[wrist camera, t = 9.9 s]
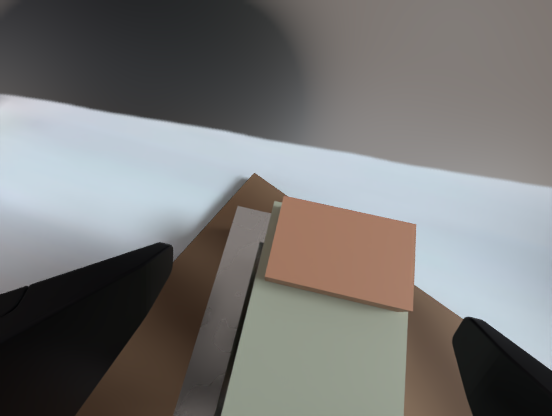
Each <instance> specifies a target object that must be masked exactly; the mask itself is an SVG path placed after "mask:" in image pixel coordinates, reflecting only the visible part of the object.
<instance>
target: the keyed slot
mask: <svg viewBox="0 0 552 416" xmlns="http://www.w3.org/2000/svg"><path fill="white" fill-rule="evenodd" d="M270 217H271V213H267V212H262V211H258V210H254V209H249V208H245V207H240V206H238V207H237V210H236V213H235V216H234V219H233V223H232V226H231V229H230V232H229V236H228V239H227V242H226V245H225V249H224V252H223V255H222V258H221V262H220V265H219V268H218V271H217V275H216V278H215V281H214V284H213V288H212V291H211V294H210V297H209V301H208V304H207V307H206V310H205V314H204V317H203V320H202V323H201V327H200V330H199V333H198V336H197V340H196V343H195V346H194V349H193V353H192V356H191V359H190V362H189V366H188V369H187V372H186V375H185V379H184V382H183V385H182V388H181V391H180V395H179V398H178V401H177V404H176V408H175V411H174V414H173V416H221V414H222V410H223V406H224V402H225V398H226V394H227V390H228V386H229V382H230V378H231V374H232V369H233V365H234V361H235V357H236V353H237V349H238V345H239V341H240V337H241V333H242V329H243V325H244V321H245V317H246V313H247V309H248V305H249V301H250V297H251V293H252V289H253V285H254V281H255V277H256V273H257V269H258V265H259V261H260V257H261V253H262V249H263V245H264V241H265V237H266V233H267V229H268V225H269V221H270Z"/></svg>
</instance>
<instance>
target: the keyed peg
mask: <svg viewBox="0 0 552 416" xmlns="http://www.w3.org/2000/svg"><path fill="white" fill-rule="evenodd" d="M415 244H416V224H412V223H407V222H403V221H398V220H393V219H389V218H384V217H379V216H375V215H370V214H366V213H361V212H356V211H352V210H347V209H343V208H338V207H333V206H329V205H324V204H320V203H315V202H310V201H306V200H301V199H297V198H292V197H287V196H284V197H283V201H282V202H277V201H274V205H273V209H272V213H271V217H270V221H269V225H268V229H267V233H266V237H265V241H264V245H263V249H262V253H261V257H260V261H259V265H258V269H257V273H256V277H255V281H254V285H253V289H252V293H251V297H250V301H249V305H248V309H247V313H246V317H245V321H244V325H243V329H242V333H241V337H240V341H239V345H238V349H237V353H236V357H235V361H234V365H233V369H232V374H231V378H230V382H229V386H228V390H227V394H226V398H225V402H224V406H223V410H222V414H221V416H404V396H405V373H406V350H407V328H408V312H411V311H413V297H414V271H415Z"/></svg>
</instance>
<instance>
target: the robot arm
mask: <svg viewBox="0 0 552 416" xmlns="http://www.w3.org/2000/svg"><path fill="white" fill-rule="evenodd" d="M172 268H173V247H172V245H170V244H165V243H161V242H159V243H156V244H152V245H149V246H146V247H143V248H140V249H137V250H134V251H131V252H128V253H125V254H122V255H119V256H116V257H113V258H110V259H107V260H104V261H101V262H98V263H95V264H92V265H89V266H86V267H83V268H80V269H77V270H73V271H70V272H67V273H64V274H61V275H58V276H55V277H52V278H49V279H46V280H43V281H40V282H37V283H34V284H31V285H30V286H29V287H28V286H25V287H22V288H19V289H16V290H13V291H10V292H7V293H3V294H0V416H75V415H76V414H77V412H78V411H79V410H80V408H81V407H82V405H83V404H84V403H85V401H86V400H87V399H88V397H89V396H90V394H91V393H92V392H93V390H94V389H95V387H96V386H97V385H98V383H99V382H100V380H101V379H102V378H103V376H104V375H105V373H106V372H107V371H108V369H109V368H110V366H111V365H112V364H113V362H114V361H115V360H116V358H117V357H118V355H119V354H120V353H121V351H122V350H123V348H124V347H125V346H126V344H127V343H128V341H129V340H130V339H131V337H132V336H133V334H134V333H135V332H136V330H137V329H138V328H139V326H140V325H141V323H142V322H143V320H144V319H145V317H146V316H147V314H148V313H149V311H150V309H151V308H152V306H153V304H154V302H155V301H156V299H157V297H158V295H159V294H160V292H161V290H162V288H163V286H164V285H165V283H166V281H167V279H168V278H169V276H170V274H171V272H172ZM452 345H453V349H454V353H455V357H456V361H457V364H458V368H459V372H460V376H461V380H462V383H463V387H464V391H465V394H466V398H467V401H468V404H469V407H470V409H471V412H472V415H473V416H552V371H551V370H550V369H549V368H547V367H546V366H545V365H543V364H542V363H541V362H539V361H538V360H536V359H535V358H534V357H532V356H531V355H530V354H528V353H527V352H526V351H524V350H523V349H521V348H520V347H519V346H517V345H516V344H515V343H513V342H512V341H511V340H509V339H508V338H506V337H505V336H504V335H502V334H501V333H500V332H498V331H497V330H496V329H494V328H493V327H491V326H490V325H489V324H487V323H486V322H485V321H483V320H481V319H477V318H472V317H465V318H464V319H463V320H462V322H461V323H460V325H459V327H458V328H457V330H456V332H455V333H454V335H453V338H452Z"/></svg>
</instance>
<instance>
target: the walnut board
mask: <svg viewBox="0 0 552 416" xmlns="http://www.w3.org/2000/svg"><path fill="white" fill-rule="evenodd" d="M284 196H287V195H285V194H284V193H282V192H281V191H280V190H278V189H277V188H275V187H274V186H272V185H271V184H270V183H268V182H267V181H265V180H264V179H262V178H261V177H260V176H258V175H257V174H255V173H254V174H253V175H252V176H251V177H250V178H249V179H248V180H247V181H246V183H245V184H244V185H243V186H242V187H241V188H240V189H239V190H238V191H237V192H236V194H235V195H234V196H233V197H232V198H231V199H230V200H229V201H228V202H227V203H226V205H225V206H224V207H223V208H222V209H221V210H220V211H219V212H218V213H217V215H216V216H215V217H214V218H213V219H212V220H211V221H210V222H209V223H208V224H207V226H206V227H205V228H204V229H203V230H202V231H201V232H200V233H199V234H198V235H197V237H196V238H195V239H194V240H193V241H192V242H191V243H190V244H189V245H188V246H187V248H186V249H185V250H184V251H183V252H182V253H181V254H180V255H179V256H178V257H177V259H176V260H175V261H174V262H173V268H172V272H171V274H170V276H169V278H168V279H167V281H166V283H165V285H164V286H163V288H162V290H161V292H160V294H159V295H158V297H157V299H156V301H155V302H154V304H153V306H152V308H151V309H150V311H149V313H148V314H147V316H146V317H145V319H144V320H143V322H142V323H141V325H140V326H139V328H138V329H137V330H136V332H135V333H134V334H133V336H132V337H131V339H130V340H129V341H128V343H127V344H126V346H125V347H124V348H123V350H122V351H121V353H120V354H119V355H118V357H117V358H116V360H115V361H114V362H113V364H112V365H111V366H110V368H109V369H108V371H107V372H106V373H105V375H104V376H103V378H102V379H101V380H100V382H99V383H98V385H97V386H96V387H95V389H94V390H93V392H92V393H91V394H90V396H89V397H88V399H87V400H86V401H85V403H84V404H83V405H82V407H81V408H80V410H79V411H78V412H77V414H76V415H75V416H173V414H174V411H175V408H176V404H177V401H178V398H179V395H180V391H181V388H182V385H183V382H184V379H185V375H186V372H187V369H188V366H189V362H190V359H191V356H192V353H193V349H194V346H195V343H196V340H197V336H198V333H199V330H200V327H201V323H202V320H203V317H204V314H205V310H206V307H207V304H208V301H209V297H210V294H211V291H212V288H213V284H214V281H215V278H216V275H217V271H218V268H219V265H220V262H221V258H222V255H223V252H224V249H225V245H226V242H227V239H228V236H229V232H230V229H231V226H232V223H233V219H234V216H235V213H236V210H237V207H238V206H240V207H245V208H249V209H254V210H258V211H262V212H267V213H272V209H273V205H274V201H277V202H282V201H283V197H284ZM287 197H288V196H287ZM462 320H463V319H462V318H461V317H459V316H458V315H456V314H455V313H454V312H452V311H451V310H449V309H448V308H446V307H445V306H444V305H442V304H441V303H439V302H438V301H436V300H435V299H434V298H432V297H431V296H429V295H428V294H426V293H425V292H424V291H422V290H421V289H419V288H418V287H416V286H415V285H414V297H413V311H411V312H408V328H407V350H406V373H405V396H404V416H473V415H472V412H471V409H470V407H469V404H468V401H467V398H466V394H465V391H464V387H463V383H462V380H461V376H460V372H459V368H458V364H457V361H456V357H455V353H454V349H453V345H452V338H453V335H454V333H455V332H456V330H457V328H458V327H459V325H460V323H461V322H462Z"/></svg>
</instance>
